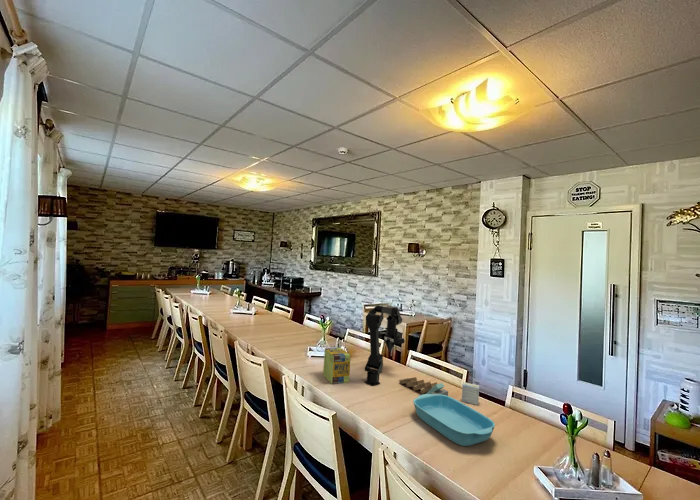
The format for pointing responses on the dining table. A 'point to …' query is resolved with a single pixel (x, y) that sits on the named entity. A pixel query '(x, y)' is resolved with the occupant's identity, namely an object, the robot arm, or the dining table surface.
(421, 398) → the casserole dish
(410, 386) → the domino
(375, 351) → the robot arm
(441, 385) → the light blue flat block
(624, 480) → the dining table surface
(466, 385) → the medicine box
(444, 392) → the end block
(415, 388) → the domino
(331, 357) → the protein box
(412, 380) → the domino
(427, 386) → the domino
